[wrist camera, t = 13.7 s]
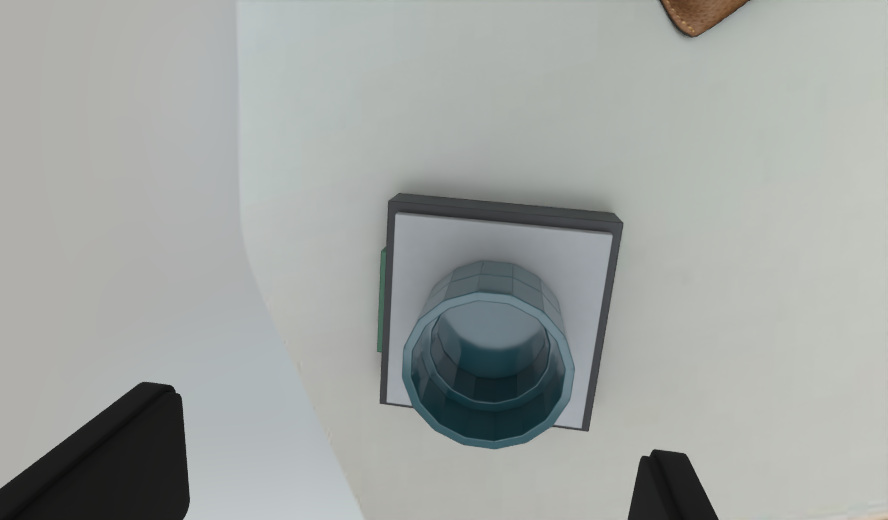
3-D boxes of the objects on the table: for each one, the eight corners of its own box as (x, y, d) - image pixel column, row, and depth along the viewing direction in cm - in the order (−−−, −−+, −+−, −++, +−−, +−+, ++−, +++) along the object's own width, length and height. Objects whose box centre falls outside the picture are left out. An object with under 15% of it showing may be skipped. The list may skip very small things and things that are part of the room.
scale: (382, 381, 31) (369, 409, 28) (391, 192, 28) (376, 201, 25) (583, 407, 30) (590, 438, 27) (614, 213, 27) (626, 225, 24)
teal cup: (418, 379, 28) (398, 436, 23) (427, 250, 26) (406, 283, 21) (553, 396, 27) (561, 459, 22) (572, 265, 25) (585, 303, 20)
